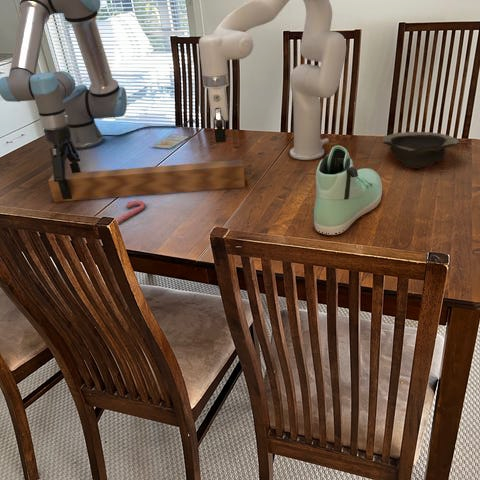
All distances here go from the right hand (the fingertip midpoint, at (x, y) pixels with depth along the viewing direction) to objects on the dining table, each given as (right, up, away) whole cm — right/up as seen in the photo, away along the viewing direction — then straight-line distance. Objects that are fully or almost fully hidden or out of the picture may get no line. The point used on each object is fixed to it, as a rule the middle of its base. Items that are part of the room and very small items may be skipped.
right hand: (221, 136), depth 150 cm
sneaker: (+37, -23, -11) cm, 45 cm away
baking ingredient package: (-23, +8, +49) cm, 54 cm away
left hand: (-49, -16, +8) cm, 52 cm away
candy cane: (-28, -25, -5) cm, 38 cm away
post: (-24, -16, +9) cm, 30 cm away
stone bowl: (+67, -4, +16) cm, 69 cm away
